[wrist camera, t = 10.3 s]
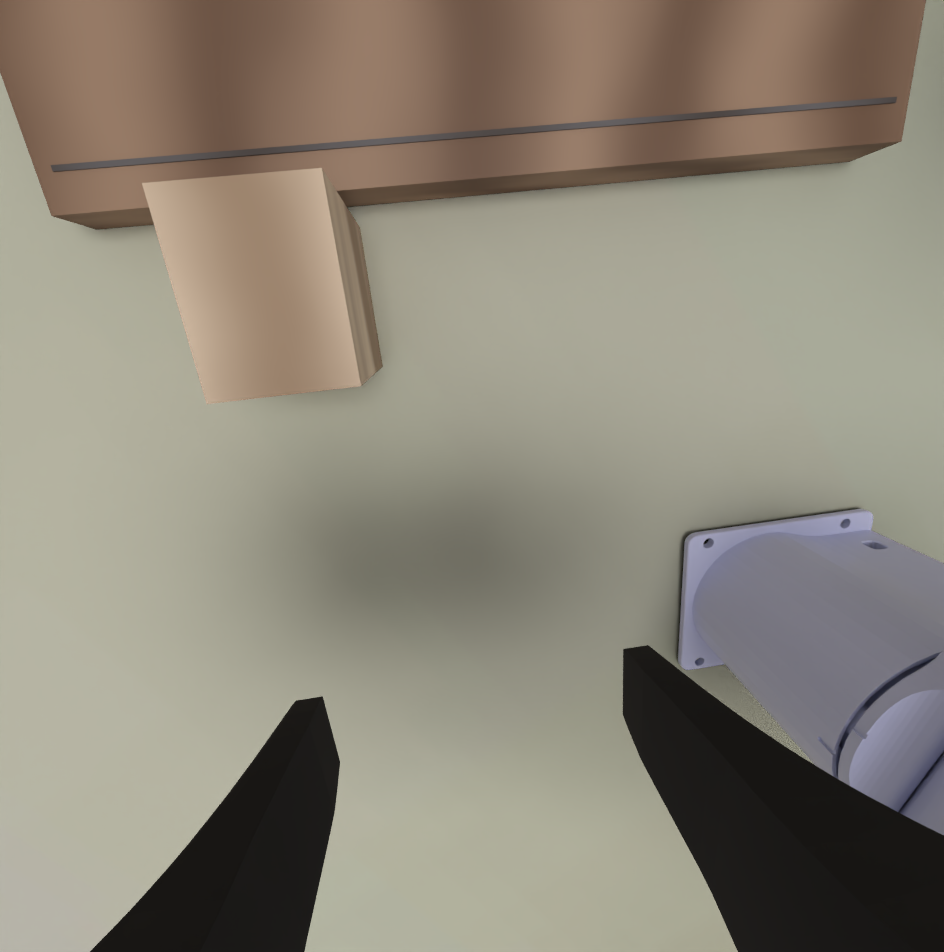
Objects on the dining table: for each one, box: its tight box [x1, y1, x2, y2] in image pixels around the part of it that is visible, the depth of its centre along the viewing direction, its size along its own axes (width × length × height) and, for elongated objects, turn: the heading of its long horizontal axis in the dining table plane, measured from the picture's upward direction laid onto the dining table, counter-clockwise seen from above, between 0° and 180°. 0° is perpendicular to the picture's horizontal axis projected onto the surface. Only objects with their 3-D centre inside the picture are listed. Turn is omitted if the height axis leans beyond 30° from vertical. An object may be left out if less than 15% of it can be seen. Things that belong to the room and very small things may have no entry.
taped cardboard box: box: [142, 168, 383, 404], centre depth 14 cm, size 4×5×6 cm
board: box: [0, 0, 926, 229], centre depth 14 cm, size 28×7×2 cm, turn 96°
